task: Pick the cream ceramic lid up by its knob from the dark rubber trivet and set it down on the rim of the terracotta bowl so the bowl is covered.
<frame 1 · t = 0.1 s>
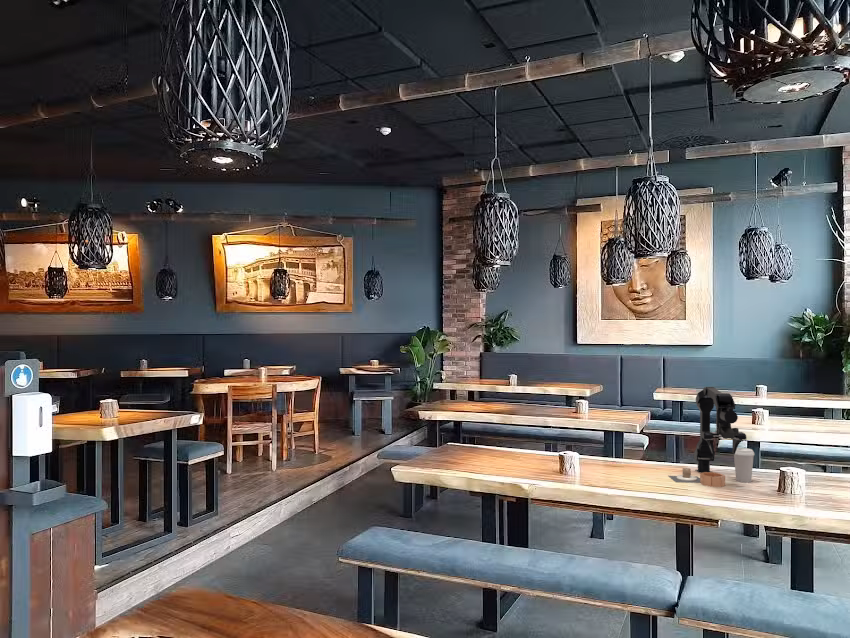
hand: (723, 454, 299), 15 cm above the table, fingers open, 9 cm apart
lid: (686, 479, 310), point 1 cm above the table, touching trivet
trivet: (686, 480, 309), on the table
bowl: (712, 485, 300), on the table
coffee cup: (743, 481, 309), on the table
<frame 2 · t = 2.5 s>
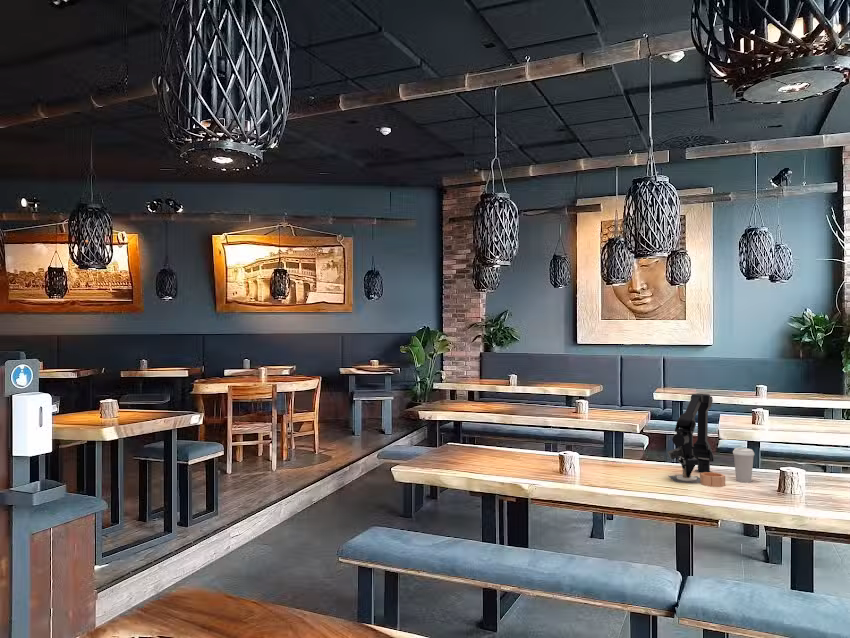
hand: (686, 476, 310), 2 cm above the table, fingers closed on lid, 4 cm apart
lid: (686, 479, 310), point 1 cm above the table, touching gripper, trivet
everything else where it was.
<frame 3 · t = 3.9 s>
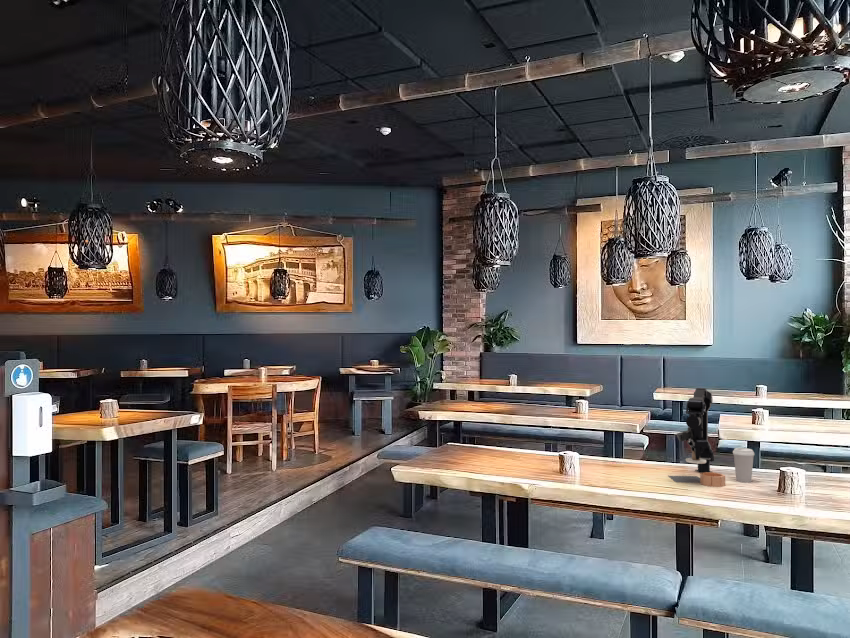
hand: (696, 458, 306), 11 cm above the table, fingers closed on lid, 4 cm apart
lid: (696, 461, 306), point 10 cm above the table, touching gripper
everything else where it was.
when the fingers open (7 cm above the table, at t = 5.2 s): lid stays where it is, resting on bowl.
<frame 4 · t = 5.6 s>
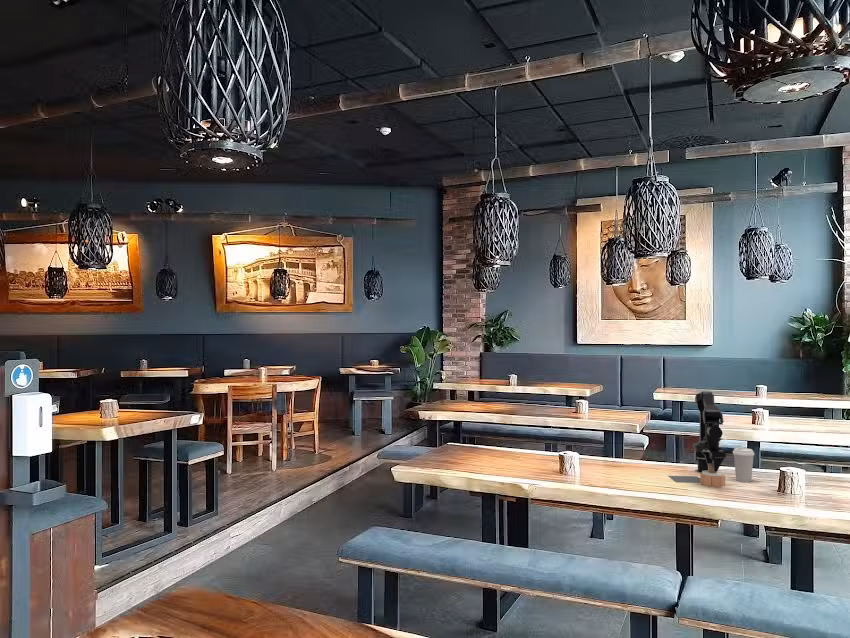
hand: (712, 469, 300), 7 cm above the table, fingers open, 8 cm apart
lid: (712, 474, 300), point 5 cm above the table, touching bowl
everything else where it was.
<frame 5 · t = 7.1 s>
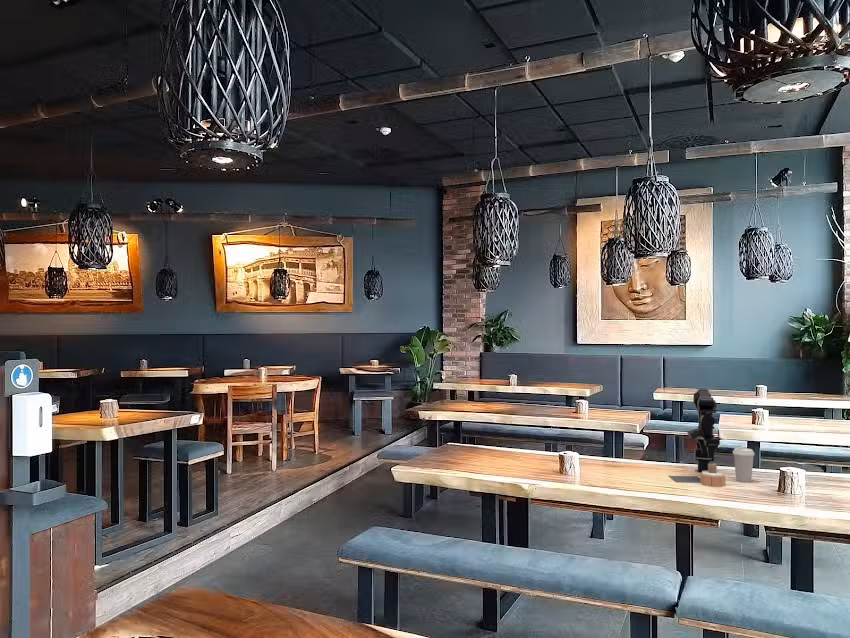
hand: (706, 456, 311), 12 cm above the table, fingers open, 9 cm apart
nothing on the table moved.
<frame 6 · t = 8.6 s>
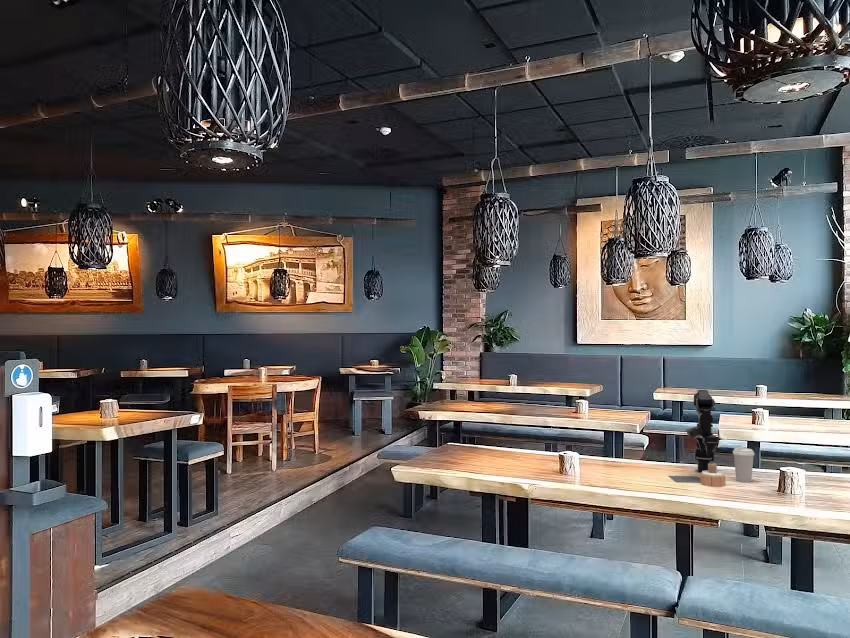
hand: (705, 454, 313), 12 cm above the table, fingers open, 9 cm apart
nothing on the table moved.
at the end: lid 0.1 cm off-centre on the bowl, point 5.0 cm above the bowl's base; lid tilted 0°; the gripper is holding nothing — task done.
